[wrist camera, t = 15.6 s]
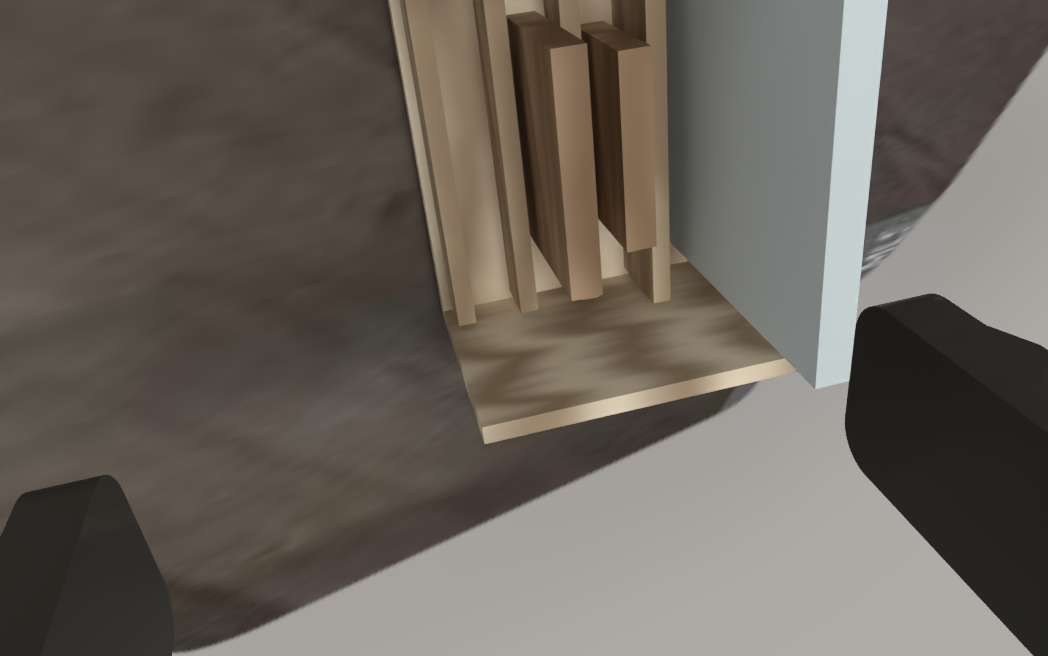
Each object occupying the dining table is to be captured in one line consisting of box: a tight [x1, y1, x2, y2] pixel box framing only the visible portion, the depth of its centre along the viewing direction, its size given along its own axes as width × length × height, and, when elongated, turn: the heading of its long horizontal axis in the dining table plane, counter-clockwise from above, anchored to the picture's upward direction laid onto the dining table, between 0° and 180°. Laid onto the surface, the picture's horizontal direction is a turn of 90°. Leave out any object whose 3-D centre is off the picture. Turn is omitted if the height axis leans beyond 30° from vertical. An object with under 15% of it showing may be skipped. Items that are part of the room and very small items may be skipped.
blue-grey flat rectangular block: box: [666, 0, 888, 389], centre depth 39 cm, size 2×16×18 cm, turn 6°
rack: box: [387, 0, 798, 444], centre depth 41 cm, size 18×22×14 cm
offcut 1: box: [506, 11, 603, 301], centre depth 42 cm, size 2×12×9 cm, turn 6°
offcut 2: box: [580, 21, 657, 252], centre depth 43 cm, size 2×10×7 cm, turn 6°
